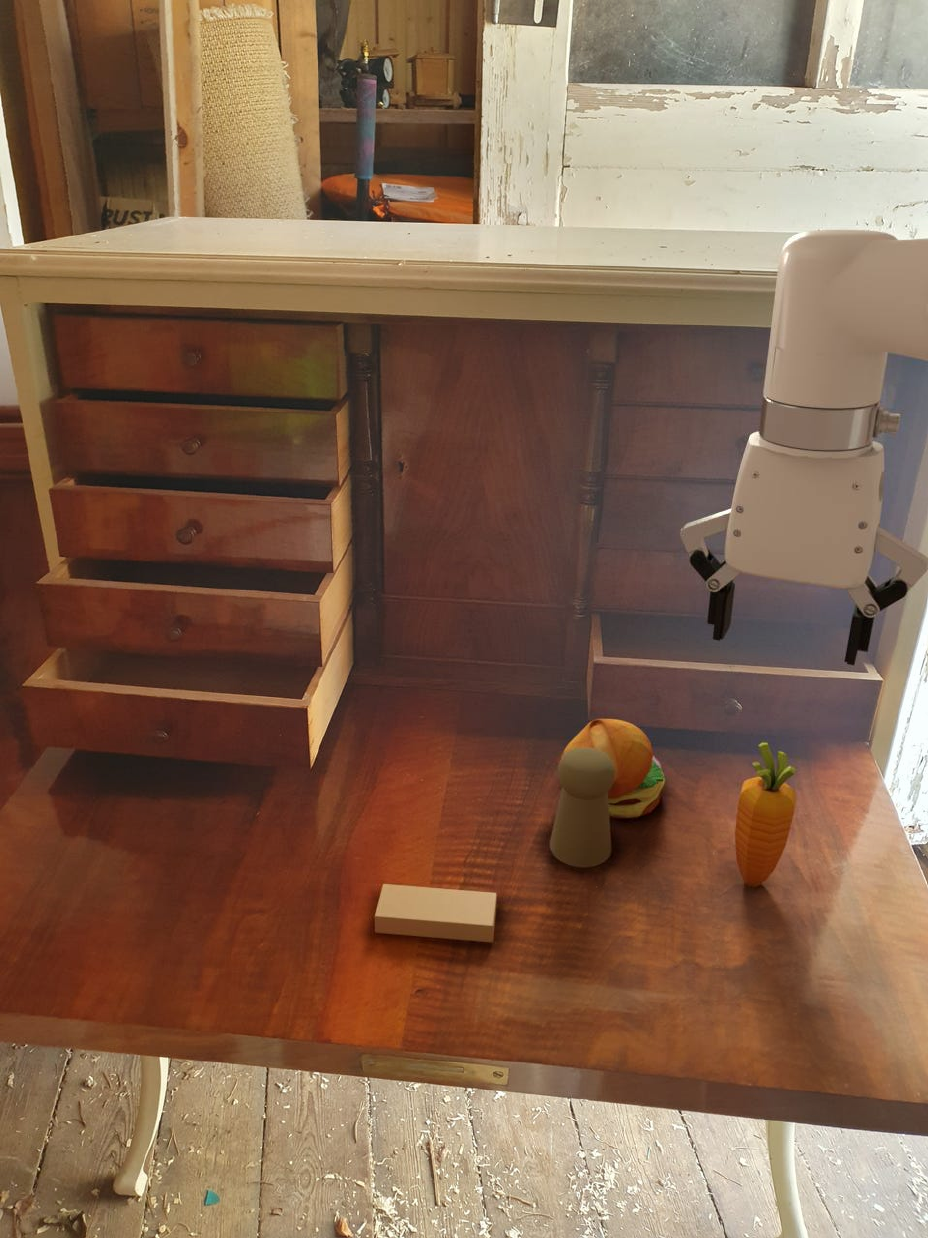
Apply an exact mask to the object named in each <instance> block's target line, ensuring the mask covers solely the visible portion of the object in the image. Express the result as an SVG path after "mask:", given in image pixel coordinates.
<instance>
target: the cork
mask: <svg viewBox="0 0 928 1238" xmlns="http://www.w3.org/2000/svg"><path fill="white" fill-rule="evenodd" d="M557 778H558V780H559V785H560V786H561V792H560V795H559V799H558V805H557V810H556V813H555V818H554V822H553V825H552V826H553V827H552V831H551V836H550V840H549V850H550V852H551V853H552V855H553V856H554V857H555V858H556V859H557V860H559V861H560V863H563V864H565V865H568V866H571V867H575V868H592V867H596V866H599V865H601V864H603V863H605V862H606V861H607V860H608V859H609V858H610V857H611V853H612V840H611V837H612V836H611V823H610V817H609V807H608V791H609V789H610V788H611V787H612V784H613V781H614V778H615V769H614V765H613V762H612V761H611V759H610V758H609V756H608V755H607V754H605V753H604V752H602V751H600V750H597V749H594V748H588V747H580V748H575V749H572V750H570V751H568V752H567V753H566V754H565V755H564V756H563V757H562V758H561V760H560V763H559V762H558V766H557Z"/></svg>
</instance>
